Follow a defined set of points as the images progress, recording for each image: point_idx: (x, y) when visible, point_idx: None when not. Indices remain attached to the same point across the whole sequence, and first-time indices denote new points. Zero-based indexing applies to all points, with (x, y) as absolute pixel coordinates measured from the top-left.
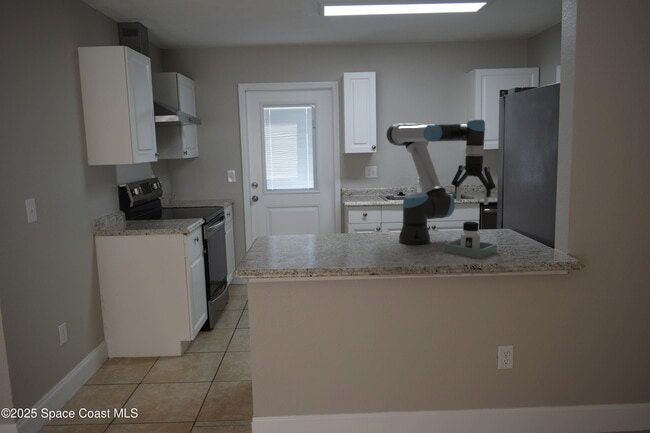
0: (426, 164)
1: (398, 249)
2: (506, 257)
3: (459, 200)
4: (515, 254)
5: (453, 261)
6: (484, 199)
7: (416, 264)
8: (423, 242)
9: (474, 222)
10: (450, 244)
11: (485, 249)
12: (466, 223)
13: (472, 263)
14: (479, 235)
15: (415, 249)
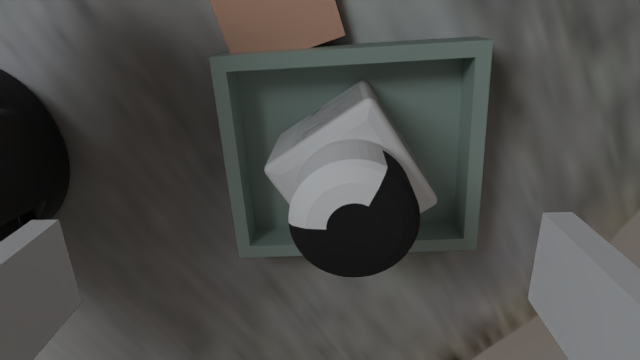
0: None
1: (76, 334)
2: (570, 122)
3: (64, 254)
4: (600, 13)
5: (384, 345)
6: (579, 358)
7: None
8: (61, 187)
9: (388, 225)
10: (247, 205)
11: (479, 206)
12: (340, 272)
13: (466, 323)
14: (432, 199)
15: (124, 287)
